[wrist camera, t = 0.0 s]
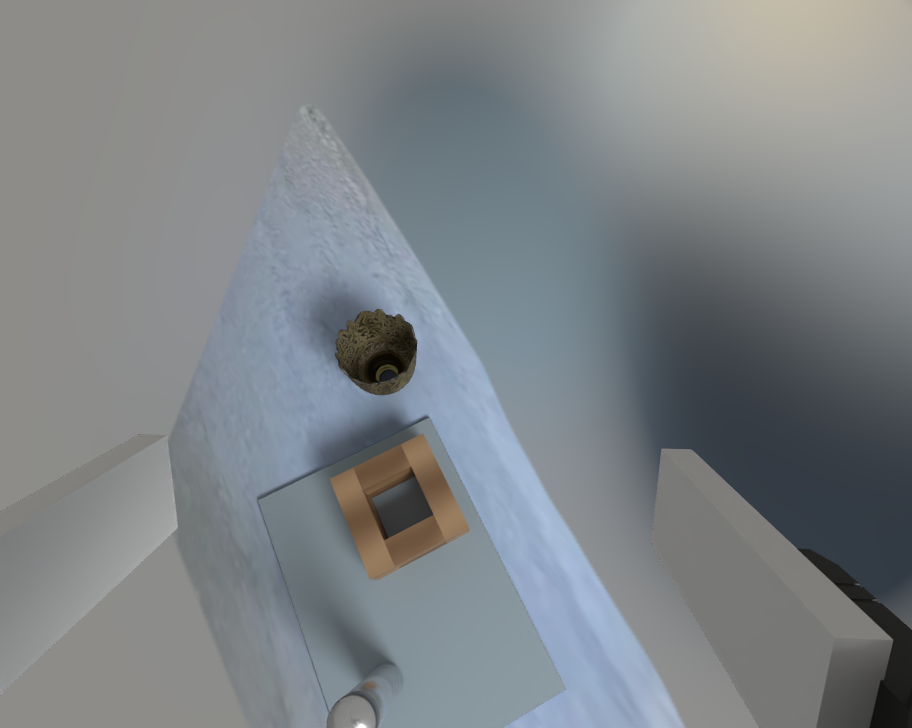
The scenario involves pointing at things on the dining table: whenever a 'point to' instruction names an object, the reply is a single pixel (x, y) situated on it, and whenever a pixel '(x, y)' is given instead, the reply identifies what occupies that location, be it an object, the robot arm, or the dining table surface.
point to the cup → (377, 351)
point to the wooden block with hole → (381, 476)
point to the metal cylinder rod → (368, 699)
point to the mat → (409, 604)
